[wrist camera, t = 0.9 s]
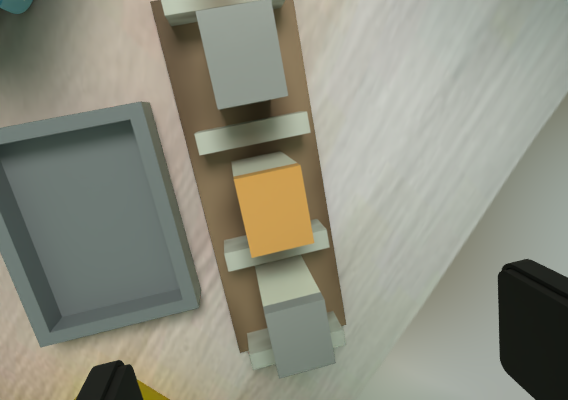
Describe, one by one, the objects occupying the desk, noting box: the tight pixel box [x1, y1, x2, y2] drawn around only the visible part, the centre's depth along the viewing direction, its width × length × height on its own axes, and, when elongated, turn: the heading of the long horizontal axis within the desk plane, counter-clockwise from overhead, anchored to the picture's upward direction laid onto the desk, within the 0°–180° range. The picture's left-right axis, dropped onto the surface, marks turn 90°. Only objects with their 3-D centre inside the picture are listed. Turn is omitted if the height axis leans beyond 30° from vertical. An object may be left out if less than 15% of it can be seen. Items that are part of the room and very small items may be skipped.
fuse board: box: [150, 0, 346, 370], centre depth 29 cm, size 10×29×4 cm, turn 10°
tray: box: [0, 102, 201, 347], centre depth 28 cm, size 12×16×3 cm
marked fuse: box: [231, 151, 314, 258], centre depth 26 cm, size 4×5×8 cm
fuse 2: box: [255, 254, 336, 379], centre depth 28 cm, size 4×5×8 cm
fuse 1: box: [195, 0, 288, 110], centre depth 24 cm, size 4×5×8 cm
